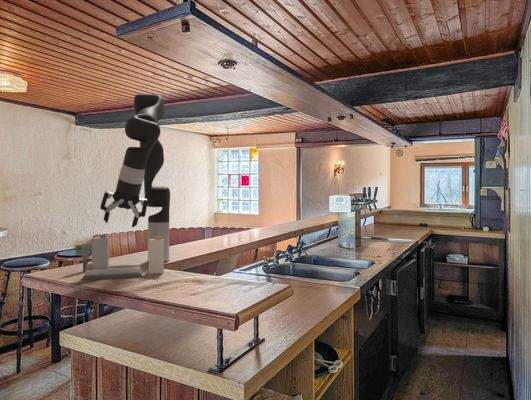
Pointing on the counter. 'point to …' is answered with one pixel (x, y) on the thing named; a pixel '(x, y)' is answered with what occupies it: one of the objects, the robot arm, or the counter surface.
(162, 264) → the cream module
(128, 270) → the grey l-shaped block
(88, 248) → the mechanical component
